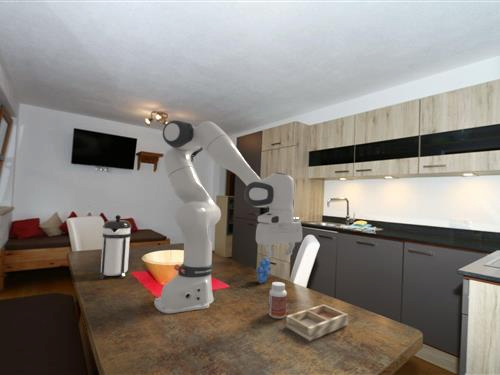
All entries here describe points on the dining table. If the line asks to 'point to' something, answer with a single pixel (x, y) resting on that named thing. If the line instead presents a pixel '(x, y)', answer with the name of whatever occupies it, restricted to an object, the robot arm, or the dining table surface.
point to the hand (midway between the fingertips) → (279, 255)
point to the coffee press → (115, 248)
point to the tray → (316, 321)
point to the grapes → (263, 270)
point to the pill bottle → (277, 300)
